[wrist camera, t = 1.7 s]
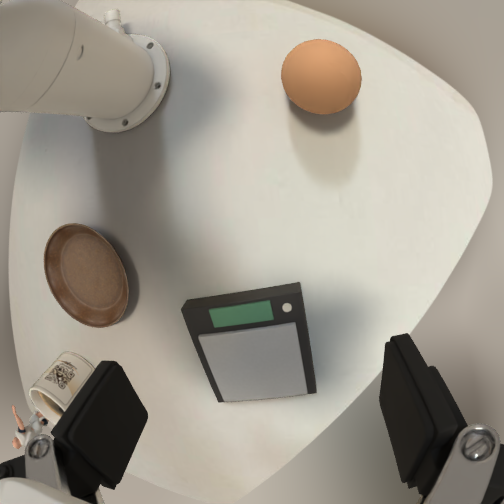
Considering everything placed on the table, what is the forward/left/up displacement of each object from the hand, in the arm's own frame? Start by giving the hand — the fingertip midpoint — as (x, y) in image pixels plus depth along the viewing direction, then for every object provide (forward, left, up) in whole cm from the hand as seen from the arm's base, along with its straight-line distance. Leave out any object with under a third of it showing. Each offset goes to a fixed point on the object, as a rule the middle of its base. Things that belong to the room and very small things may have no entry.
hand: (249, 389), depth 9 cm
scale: (+15, -5, -24) cm, 29 cm away
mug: (+20, -38, -24) cm, 50 cm away
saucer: (+1, -25, -24) cm, 35 cm away
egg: (-14, +8, -24) cm, 29 cm away
